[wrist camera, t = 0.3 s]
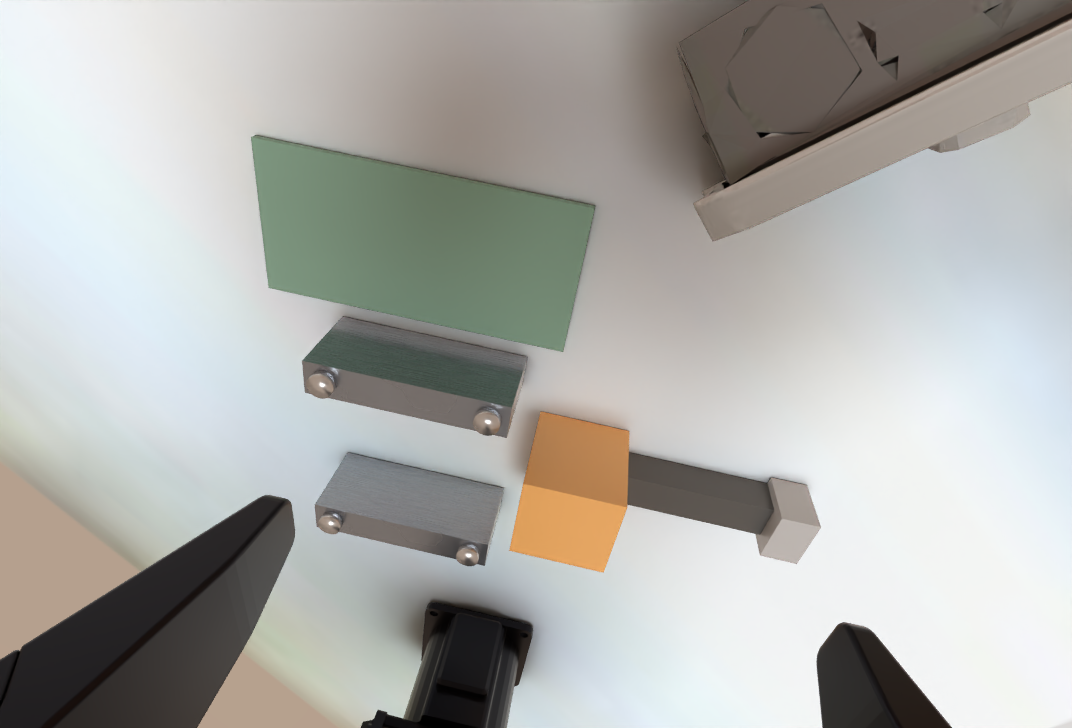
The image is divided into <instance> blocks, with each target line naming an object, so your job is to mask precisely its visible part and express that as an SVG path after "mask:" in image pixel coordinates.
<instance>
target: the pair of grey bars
mask: <svg viewBox="0 0 1072 728" xmlns="http://www.w3.org/2000/svg"><path fill="white" fill-rule="evenodd" d="M526 363H527V357H526V356H521V355H517V354H512V353H508V352H503V351H499V350H494V349H489V348H485V347H480V346H476V345H471V344H467V343H462V342H457V341H453V340H448V339H444V338H439V337H434V336H430V335H425V334H421V333H416V332H412V331H407V330H402V329H398V328H393V327H389V326H384V325H380V324H375V323H370V322H366V321H361V320H357V319H352V318H348V317H342V318H341V319H340V320H339V321H338V322H337V323H336V324H335V325H334V327H333V328H332V329H331V330H330V331H329V332H328V333H327V334H326V335H325V336H324V337H323V339H322V340H321V341H320V342H319V343H318V344H317V345H316V346H315V347H314V348H313V350H312V351H311V352H310V353H309V354H308V355H307V356H306V357H305V358H304V359H303V361H302V364H303V376H304V387H305V393H309V394H312V395H314V396H315V397H318V398H331V399H336V400H340V401H345V402H349V403H354V404H358V405H363V406H367V407H372V408H376V409H380V410H385V411H389V412H394V413H398V414H403V415H407V416H412V417H416V418H421V419H425V420H429V421H434V422H438V423H443V424H447V425H452V426H456V427H461V428H465V429H470V430H474V431H477V432H479V433H480V434H483V435H487V436H489V435H496V436H501V437H505V438H507V435H508V432H509V429H510V425H511V422H512V419H513V415H514V412H515V408H516V405H517V402H518V398H519V395H520V392H521V388H522V385H523V379H524V374H525V368H526ZM503 490H504V488H501V487H497V486H493V485H488V484H484V483H479V482H475V481H471V480H466V479H462V478H457V477H453V476H449V475H444V474H440V473H435V472H431V471H427V470H422V469H418V468H414V467H409V466H405V465H400V464H396V463H392V462H387V461H383V460H378V459H374V458H370V457H365V456H361V455H356V454H352V453H347V455H346V456H345V458H344V459H343V461H342V462H341V464H340V466H339V467H338V469H337V470H336V472H335V474H334V475H333V477H332V478H331V480H330V481H329V483H328V485H327V486H326V488H325V489H324V491H323V493H322V494H321V496H320V497H319V499H318V500H317V502H316V504H315V512H316V523H317V527H320V529H321V530H322V531H324V532H326V533H329V534H336V533H338V532H342V533H347V534H351V535H355V536H359V537H364V538H368V539H372V540H377V541H381V542H385V543H389V544H394V545H398V546H402V547H407V548H411V549H415V550H419V551H424V552H428V553H432V554H437V555H441V556H445V557H449V558H454V559H457V561H458V562H459V563H461V564H463V565H465V566H474V565H476V564H479V565H484V566H485V563H486V559H487V555H488V552H489V548H490V544H491V541H492V537H493V533H494V529H495V526H496V522H497V518H498V515H499V511H500V507H501V501H502V496H503Z"/></svg>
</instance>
